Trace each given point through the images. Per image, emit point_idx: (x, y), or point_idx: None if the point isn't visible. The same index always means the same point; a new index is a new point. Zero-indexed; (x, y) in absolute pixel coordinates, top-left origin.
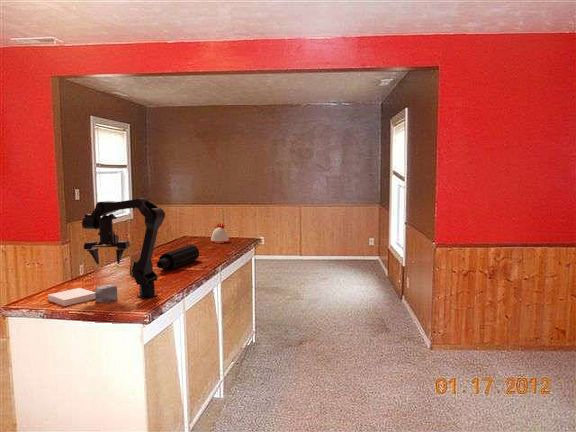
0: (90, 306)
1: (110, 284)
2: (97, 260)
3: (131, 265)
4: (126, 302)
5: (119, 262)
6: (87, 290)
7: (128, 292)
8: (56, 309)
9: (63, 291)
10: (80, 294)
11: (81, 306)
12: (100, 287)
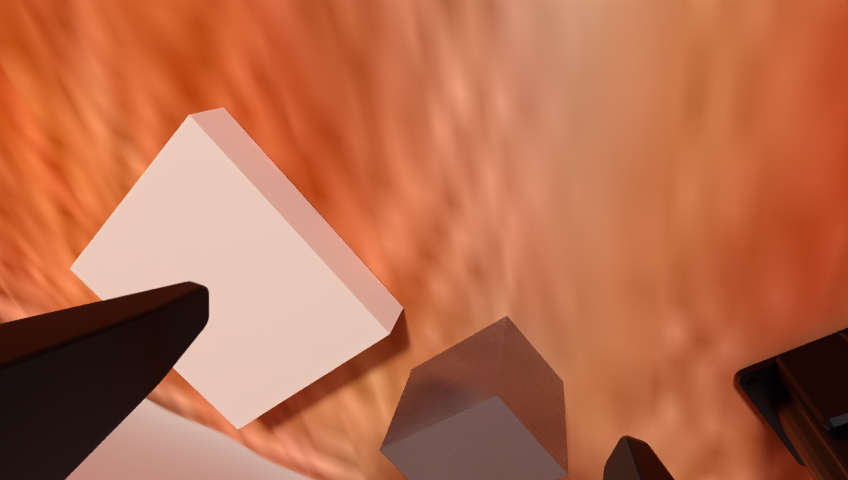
0: None
1: (500, 404)
2: (140, 379)
3: None
4: None
5: (656, 472)
6: (293, 236)
7: (666, 196)
8: (245, 438)
9: (121, 210)
10: (284, 340)
11: (355, 439)
12: (425, 465)
